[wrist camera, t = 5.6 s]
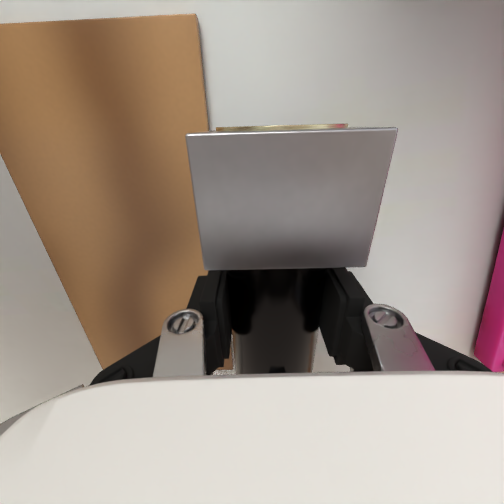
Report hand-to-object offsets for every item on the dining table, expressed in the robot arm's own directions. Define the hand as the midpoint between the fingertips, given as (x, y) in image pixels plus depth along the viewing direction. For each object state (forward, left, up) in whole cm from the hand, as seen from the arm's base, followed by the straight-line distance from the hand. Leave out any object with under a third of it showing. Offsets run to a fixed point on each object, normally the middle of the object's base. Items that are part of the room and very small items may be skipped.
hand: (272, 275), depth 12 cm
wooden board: (-9, 0, -4) cm, 9 cm away
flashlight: (0, 0, 0) cm, 1 cm away
